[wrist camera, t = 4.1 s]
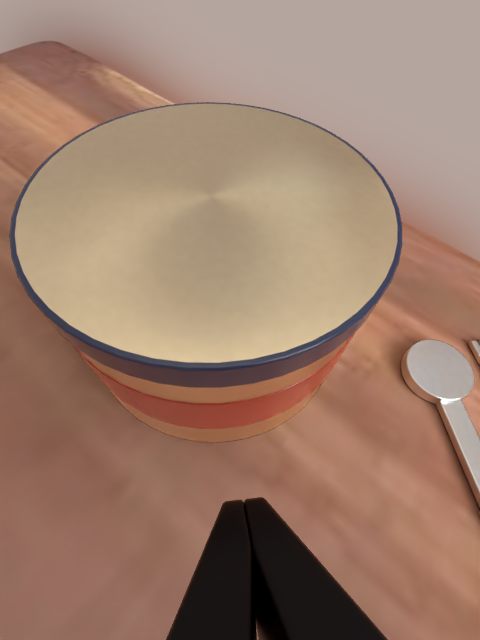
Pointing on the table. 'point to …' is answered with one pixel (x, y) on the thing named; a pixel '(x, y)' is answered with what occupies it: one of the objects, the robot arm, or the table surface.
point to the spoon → (446, 397)
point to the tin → (207, 260)
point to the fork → (475, 349)
